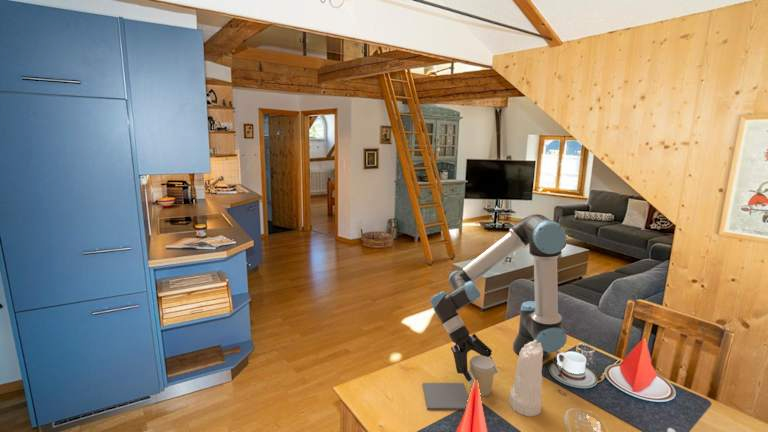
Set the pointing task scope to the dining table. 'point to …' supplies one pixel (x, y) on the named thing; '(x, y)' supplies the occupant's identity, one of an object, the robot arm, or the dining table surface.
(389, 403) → the dining table surface
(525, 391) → the decorative vase
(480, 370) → the coffee cup
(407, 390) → the dining table surface
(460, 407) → the charcoal mat
